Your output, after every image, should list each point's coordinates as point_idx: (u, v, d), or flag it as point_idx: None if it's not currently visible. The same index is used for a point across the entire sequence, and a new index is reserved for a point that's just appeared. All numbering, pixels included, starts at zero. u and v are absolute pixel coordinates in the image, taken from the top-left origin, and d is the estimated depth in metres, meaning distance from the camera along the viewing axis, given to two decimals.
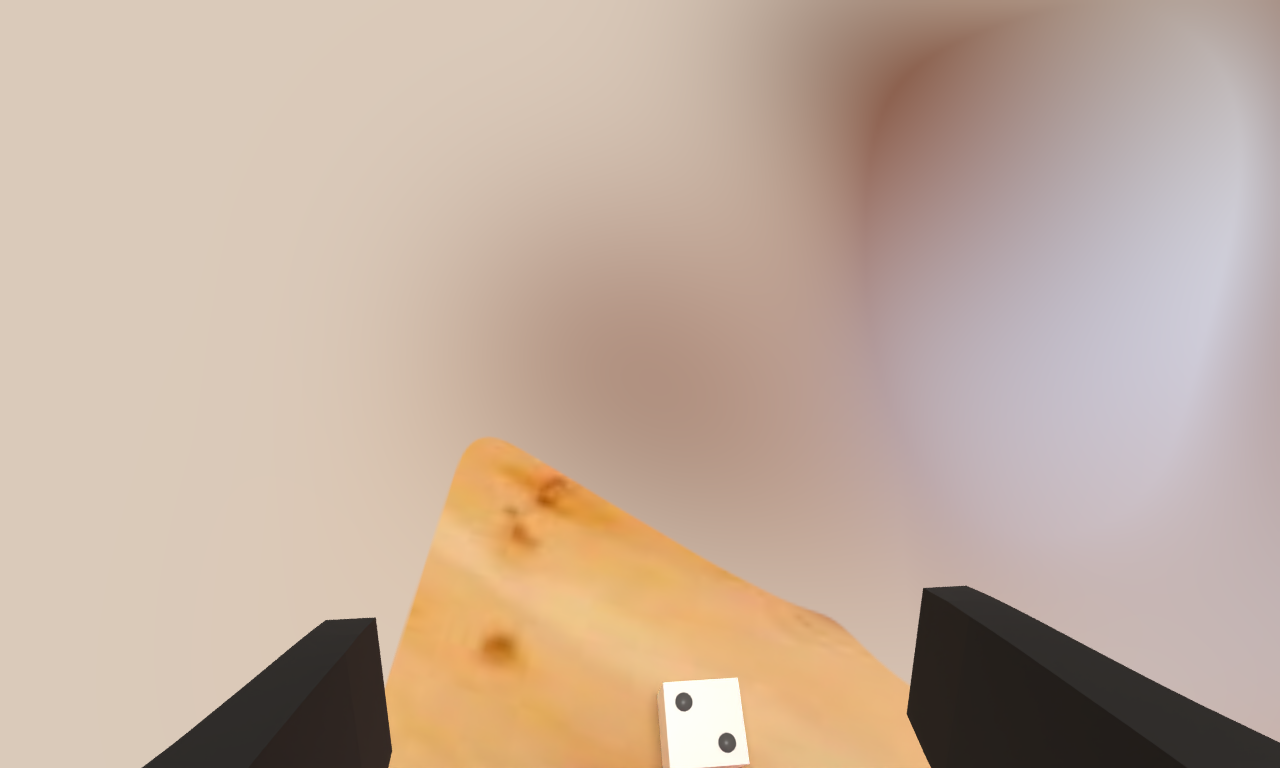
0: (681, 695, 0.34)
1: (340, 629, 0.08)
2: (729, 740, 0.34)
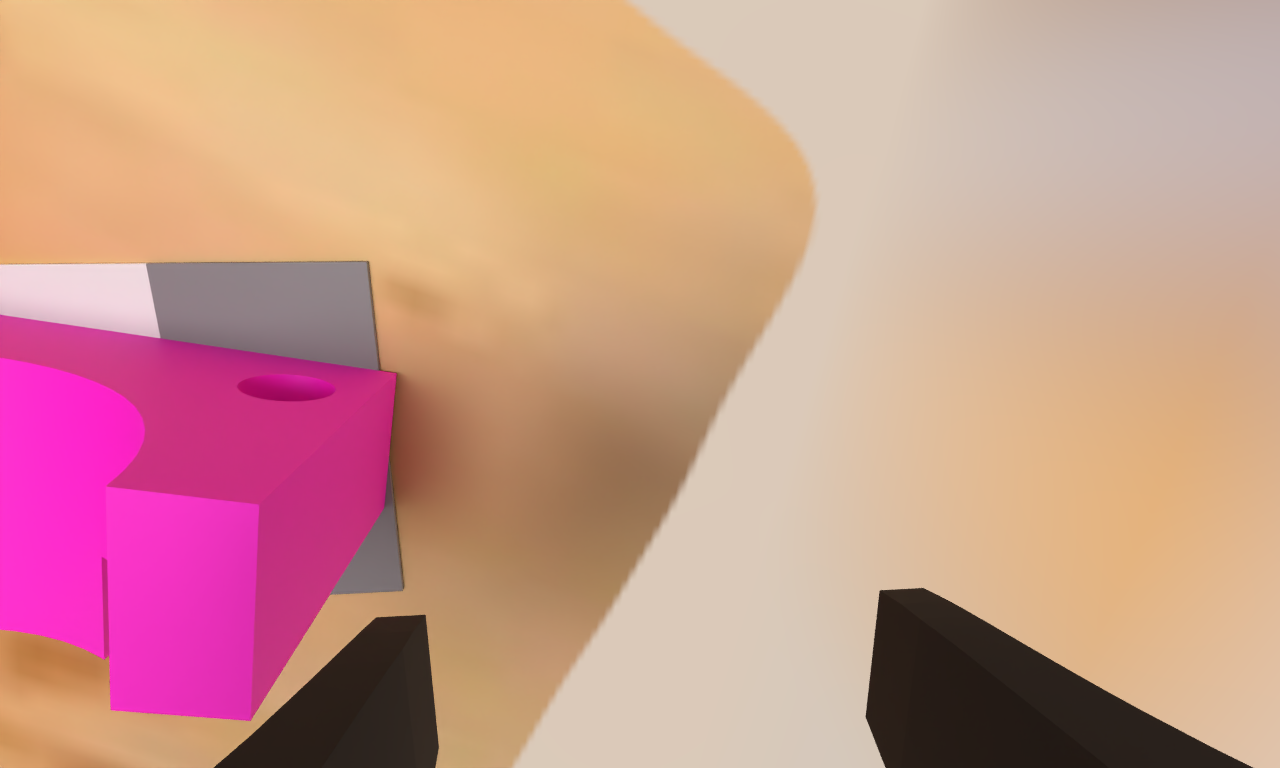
0: None
1: (393, 627, 0.08)
2: None
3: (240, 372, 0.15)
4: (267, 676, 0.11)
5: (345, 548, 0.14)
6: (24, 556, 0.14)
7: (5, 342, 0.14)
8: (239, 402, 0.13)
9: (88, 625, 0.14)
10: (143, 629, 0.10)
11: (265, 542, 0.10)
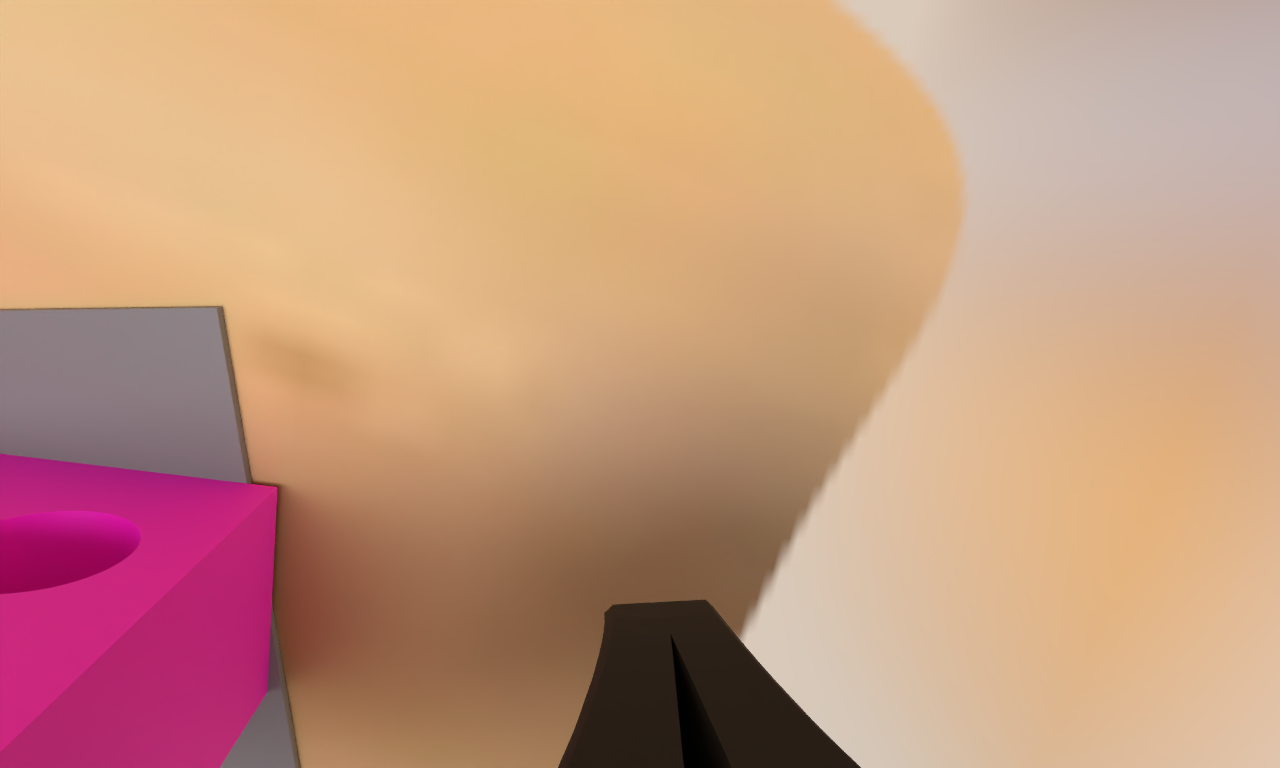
0: None
1: (640, 613, 0.08)
2: None
3: None
4: None
5: None
6: None
7: None
8: None
9: None
10: None
11: None
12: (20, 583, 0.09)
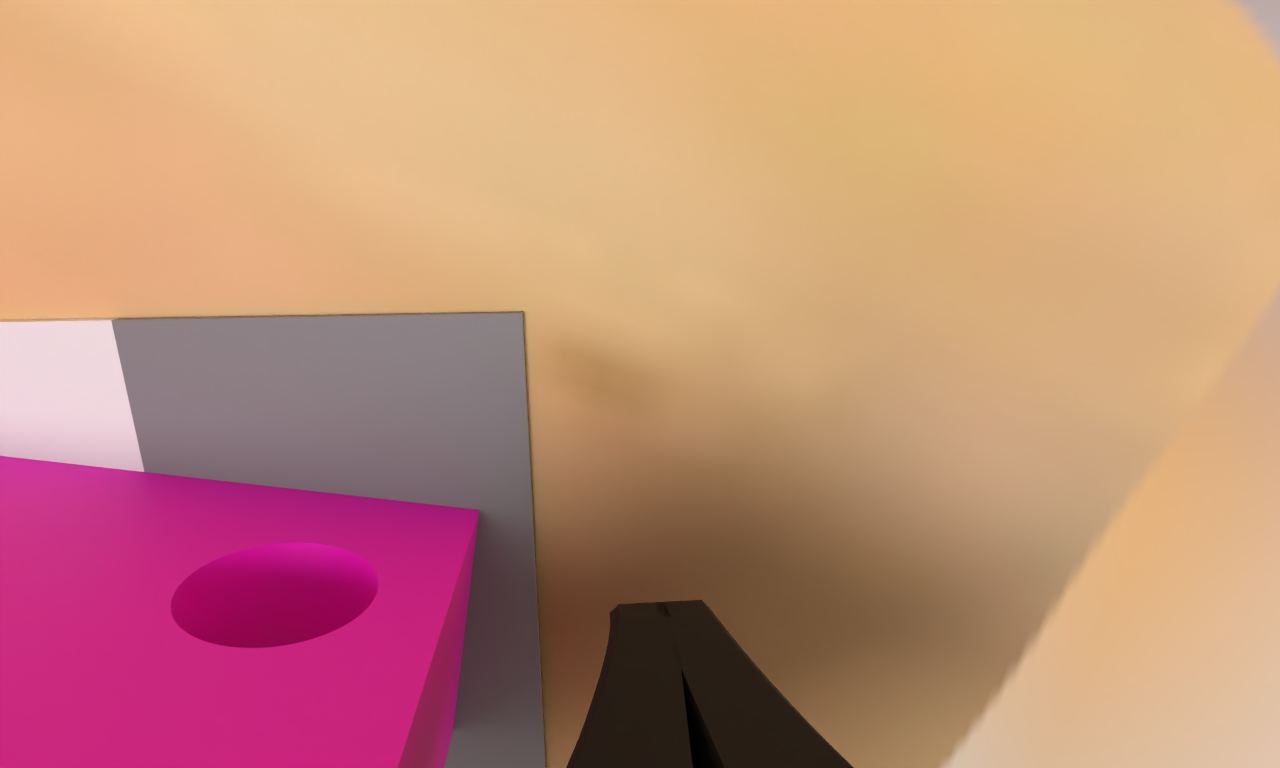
0: None
1: (646, 613, 0.08)
2: None
3: (186, 551, 0.07)
4: None
5: None
6: None
7: None
8: (166, 672, 0.06)
9: None
10: None
11: None
12: (235, 624, 0.08)
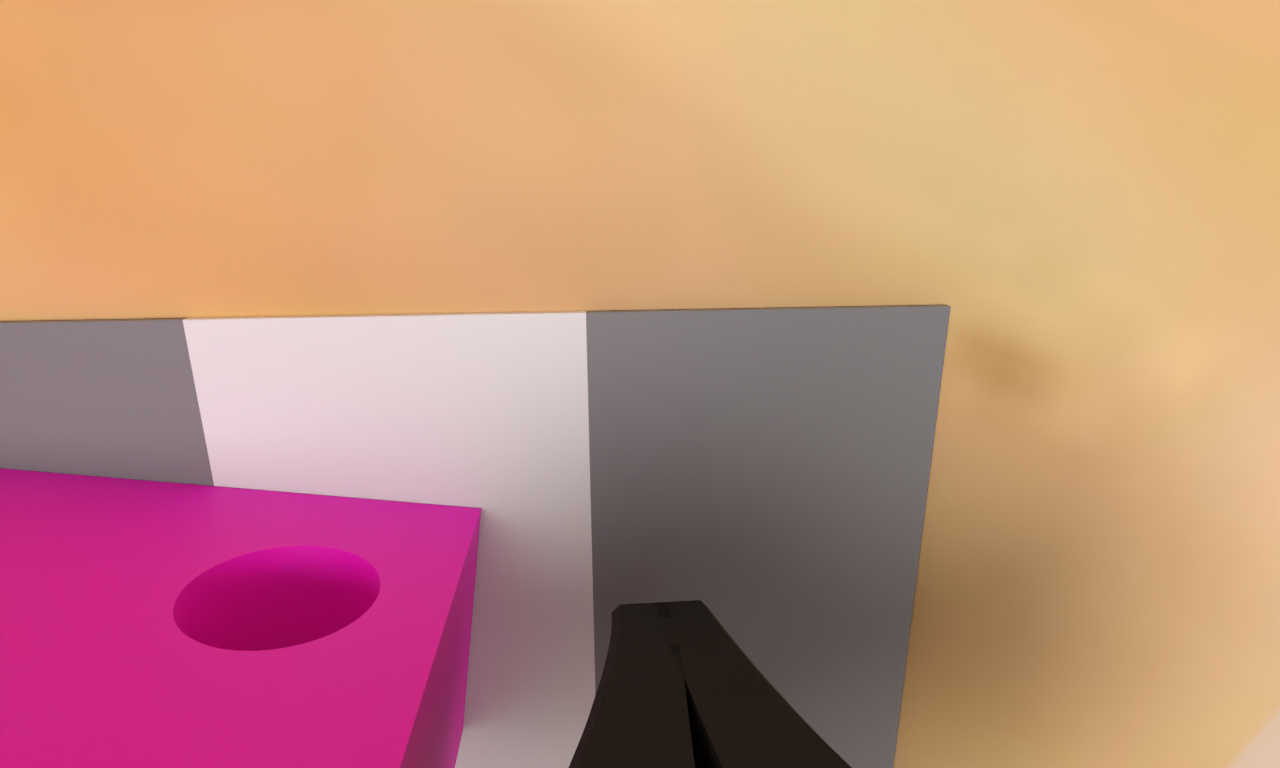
0: None
1: (647, 613, 0.08)
2: None
3: (187, 556, 0.07)
4: None
5: None
6: None
7: None
8: (168, 677, 0.06)
9: None
10: None
11: None
12: (240, 629, 0.08)
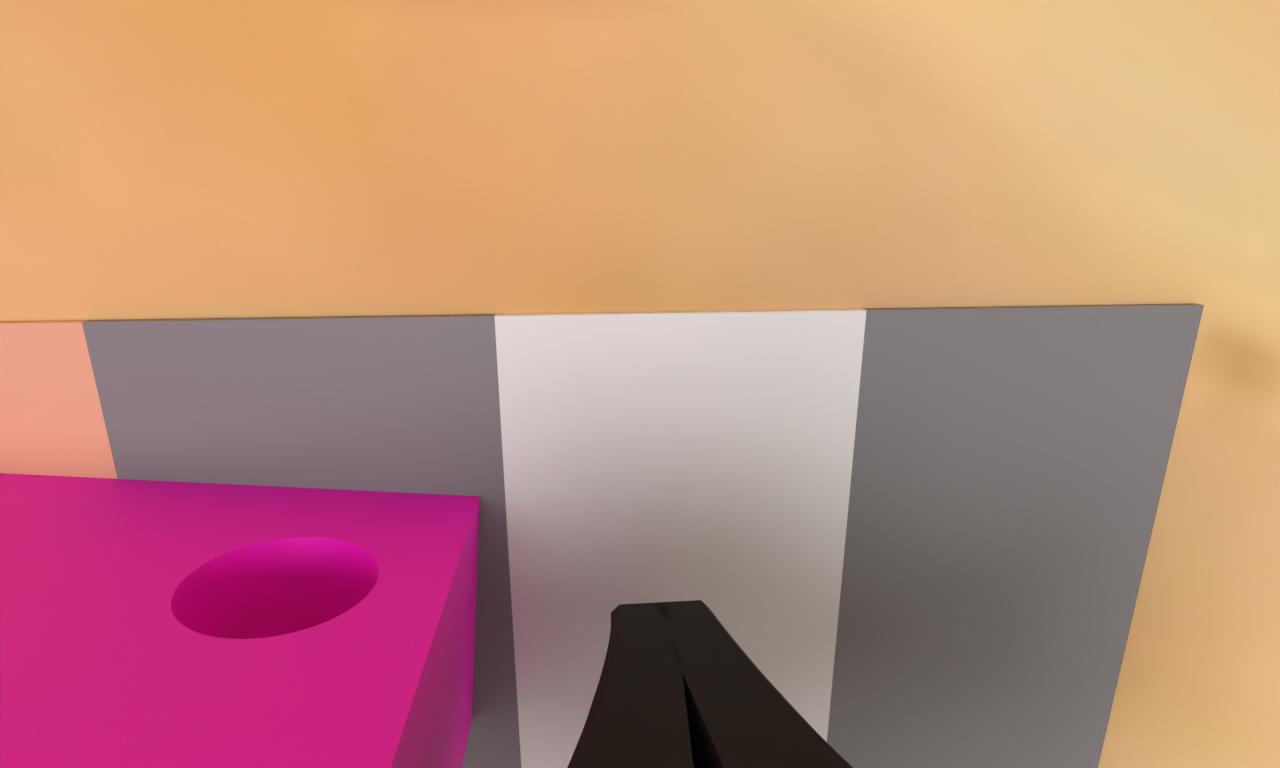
0: None
1: (647, 613, 0.08)
2: None
3: (185, 551, 0.07)
4: None
5: None
6: None
7: None
8: (166, 666, 0.06)
9: None
10: None
11: None
12: (242, 622, 0.08)
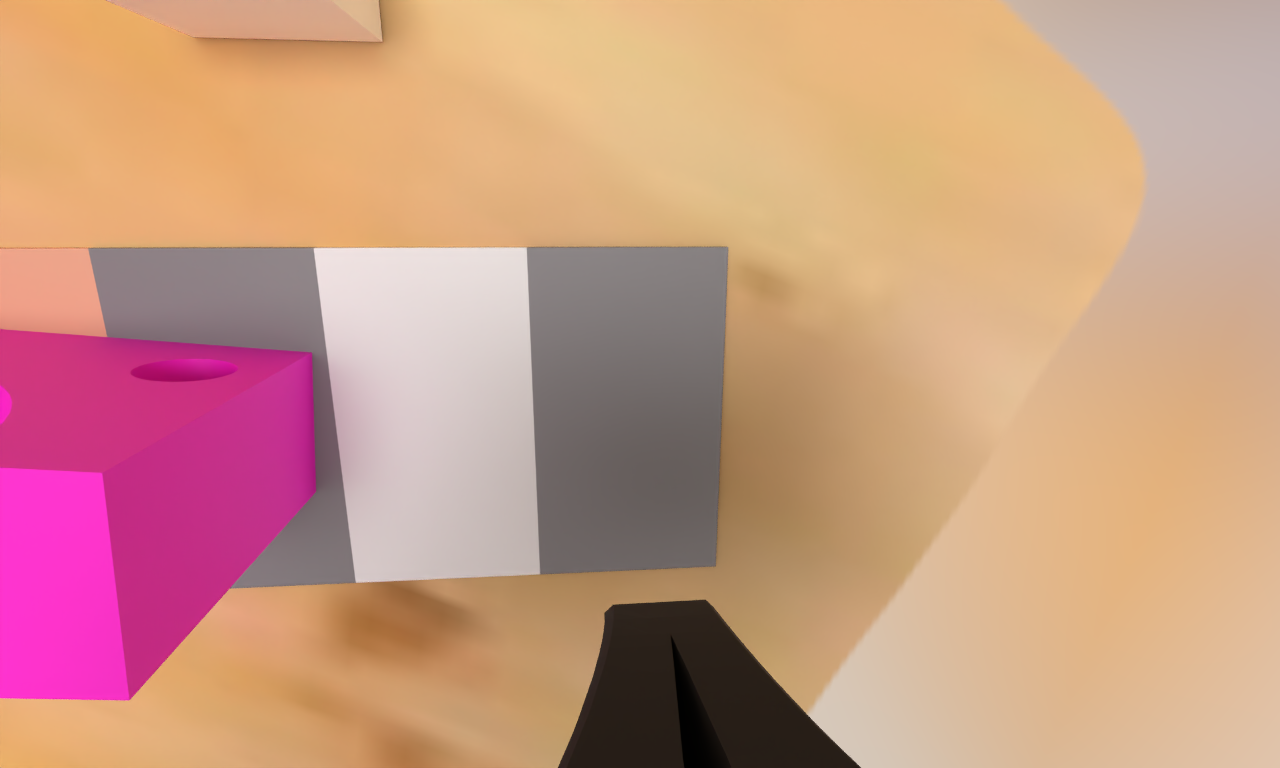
0: None
1: (640, 614, 0.08)
2: None
3: (141, 359, 0.14)
4: (150, 655, 0.11)
5: (258, 529, 0.14)
6: None
7: None
8: (126, 385, 0.13)
9: None
10: (3, 612, 0.10)
11: (120, 513, 0.10)
12: None
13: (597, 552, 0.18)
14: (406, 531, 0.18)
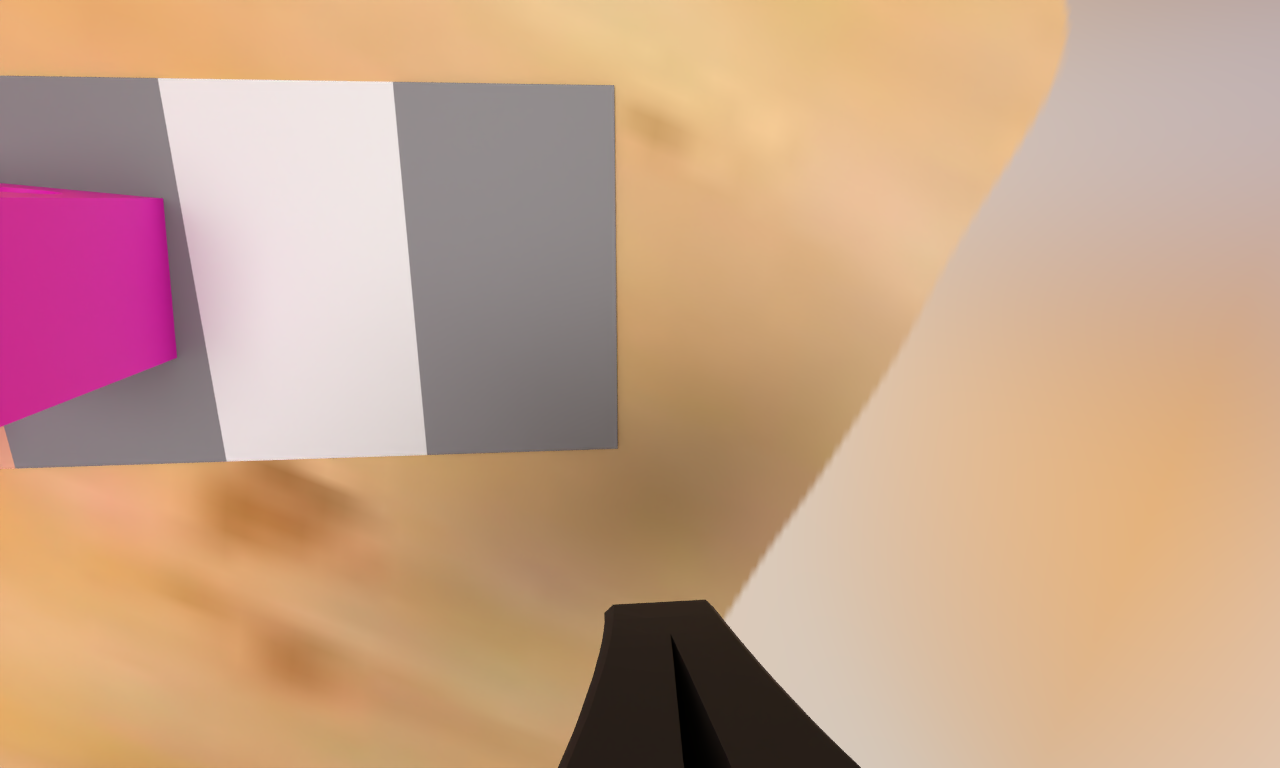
0: None
1: (640, 614, 0.08)
2: None
3: None
4: None
5: (79, 365, 0.13)
6: None
7: None
8: None
9: None
10: None
11: None
12: None
13: (488, 431, 0.17)
14: (278, 404, 0.17)
